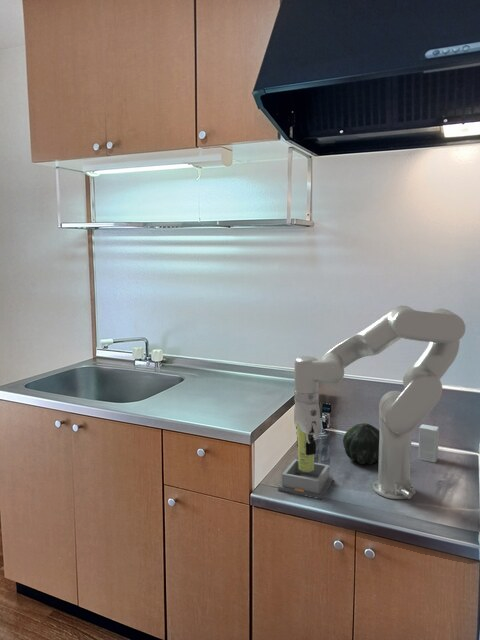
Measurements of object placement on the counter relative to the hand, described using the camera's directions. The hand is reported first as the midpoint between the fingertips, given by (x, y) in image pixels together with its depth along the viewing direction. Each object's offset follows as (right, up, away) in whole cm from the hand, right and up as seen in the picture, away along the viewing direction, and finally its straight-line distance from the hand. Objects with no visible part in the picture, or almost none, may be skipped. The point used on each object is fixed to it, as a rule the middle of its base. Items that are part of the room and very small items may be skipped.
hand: (306, 450), depth 159 cm
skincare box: (+46, -8, +19) cm, 50 cm away
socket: (0, -12, +2) cm, 12 cm away
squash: (+24, -9, +19) cm, 32 cm away
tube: (0, -7, +1) cm, 7 cm away
